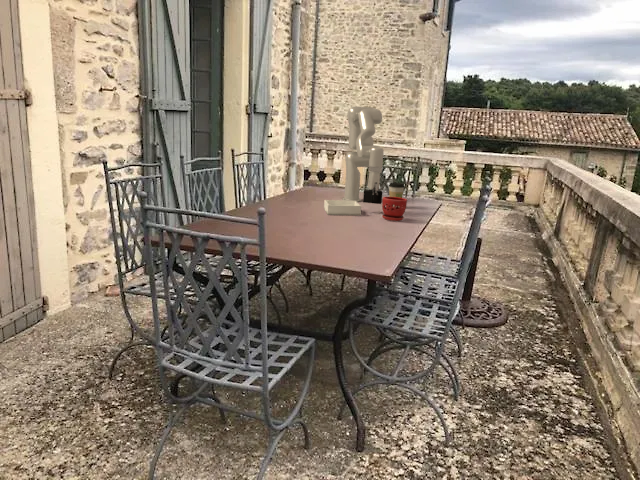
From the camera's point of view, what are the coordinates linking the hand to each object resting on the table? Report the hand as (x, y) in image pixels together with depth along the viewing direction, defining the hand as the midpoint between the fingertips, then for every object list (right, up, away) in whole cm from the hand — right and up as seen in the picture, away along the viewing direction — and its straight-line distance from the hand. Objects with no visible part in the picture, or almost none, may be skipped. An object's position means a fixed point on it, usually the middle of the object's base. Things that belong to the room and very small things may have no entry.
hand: (372, 200), depth 280 cm
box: (-18, -7, -2) cm, 19 cm away
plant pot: (+10, -12, -14) cm, 21 cm away
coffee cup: (+16, -3, +23) cm, 28 cm away
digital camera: (0, -2, 0) cm, 2 cm away
